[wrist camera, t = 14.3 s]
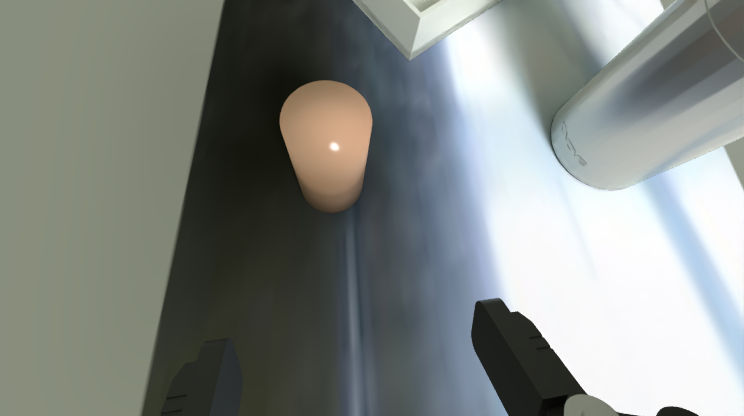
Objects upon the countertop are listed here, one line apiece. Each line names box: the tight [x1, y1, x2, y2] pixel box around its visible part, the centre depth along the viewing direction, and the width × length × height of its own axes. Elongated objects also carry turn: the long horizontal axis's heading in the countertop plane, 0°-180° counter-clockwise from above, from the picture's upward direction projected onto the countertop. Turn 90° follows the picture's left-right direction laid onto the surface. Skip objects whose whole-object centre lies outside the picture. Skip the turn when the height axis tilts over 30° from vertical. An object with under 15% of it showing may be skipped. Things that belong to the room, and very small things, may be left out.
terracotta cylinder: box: [280, 80, 372, 213], centre depth 24 cm, size 5×5×10 cm
